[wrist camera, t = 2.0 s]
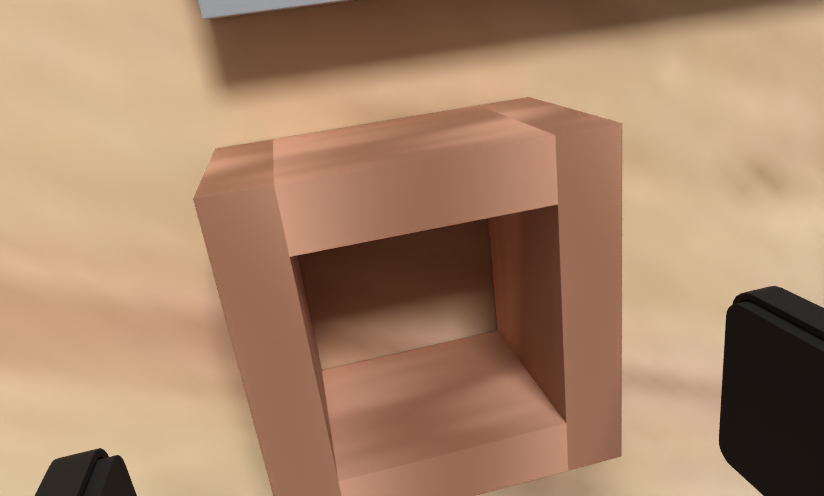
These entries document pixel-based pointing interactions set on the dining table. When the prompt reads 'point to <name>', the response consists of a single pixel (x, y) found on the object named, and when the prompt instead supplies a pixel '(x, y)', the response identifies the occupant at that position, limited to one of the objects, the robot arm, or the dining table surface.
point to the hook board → (252, 6)
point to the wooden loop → (446, 362)
